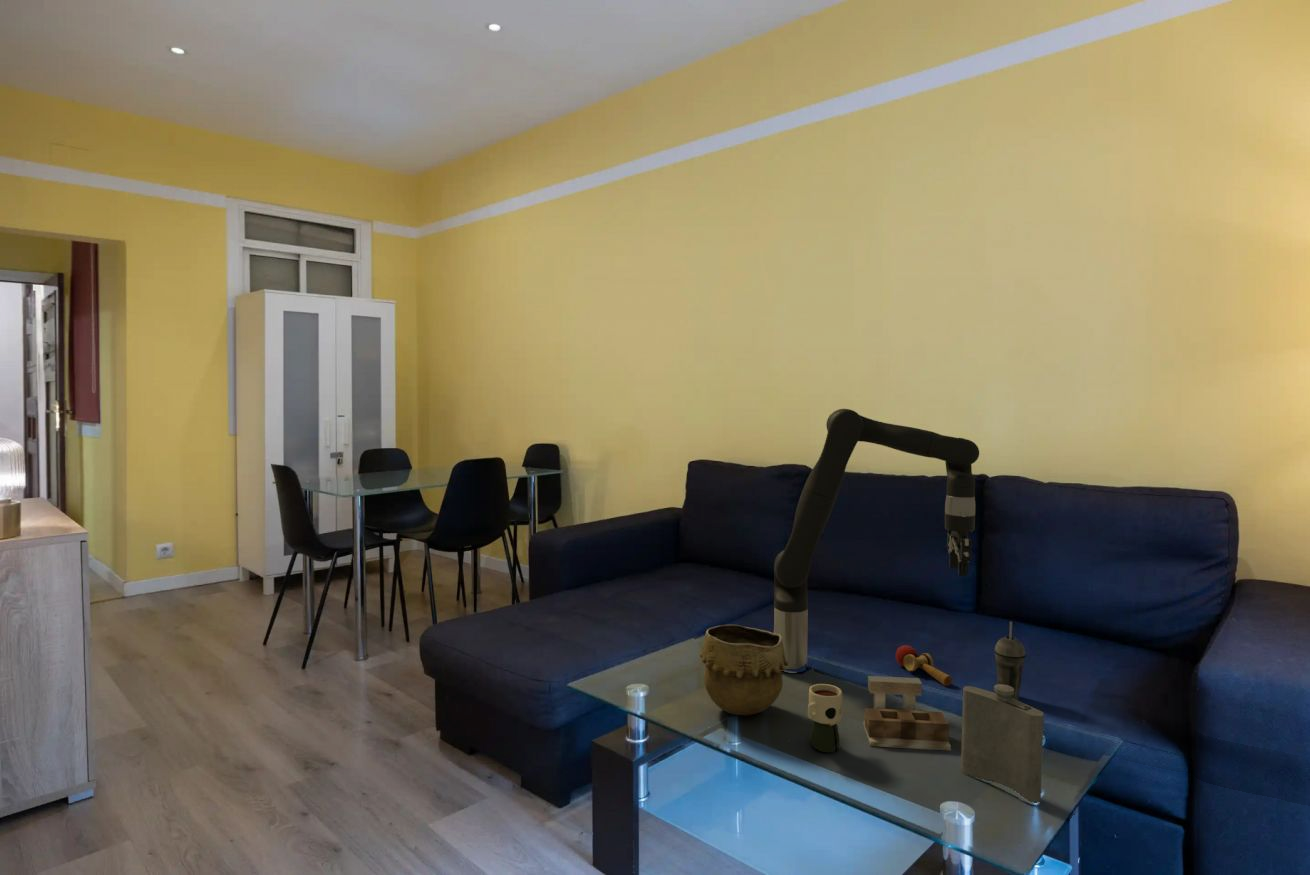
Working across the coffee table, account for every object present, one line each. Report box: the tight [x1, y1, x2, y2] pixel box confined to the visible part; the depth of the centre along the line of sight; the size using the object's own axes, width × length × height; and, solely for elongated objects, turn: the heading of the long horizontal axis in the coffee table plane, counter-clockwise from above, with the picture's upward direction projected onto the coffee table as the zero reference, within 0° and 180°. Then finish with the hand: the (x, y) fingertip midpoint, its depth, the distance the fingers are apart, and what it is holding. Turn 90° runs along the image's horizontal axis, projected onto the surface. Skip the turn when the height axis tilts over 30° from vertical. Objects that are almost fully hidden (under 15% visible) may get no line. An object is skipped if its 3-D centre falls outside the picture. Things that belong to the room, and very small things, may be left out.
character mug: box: [807, 683, 843, 753], centre depth 159 cm, size 11×7×13 cm, turn 127°
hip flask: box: [960, 683, 1045, 803], centre depth 143 cm, size 16×4×20 cm, turn 35°
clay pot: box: [699, 624, 789, 716], centre depth 176 cm, size 21×21×20 cm
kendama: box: [895, 644, 953, 687], centre depth 199 cm, size 8×6×18 cm
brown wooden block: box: [862, 707, 952, 752], centre depth 163 cm, size 17×10×5 cm, turn 83°
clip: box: [867, 675, 923, 711], centre depth 176 cm, size 12×3×8 cm, turn 83°
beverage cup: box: [993, 620, 1027, 701], centre depth 184 cm, size 7×7×20 cm
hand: (958, 571), depth 196 cm, fingers open, 8 cm apart
